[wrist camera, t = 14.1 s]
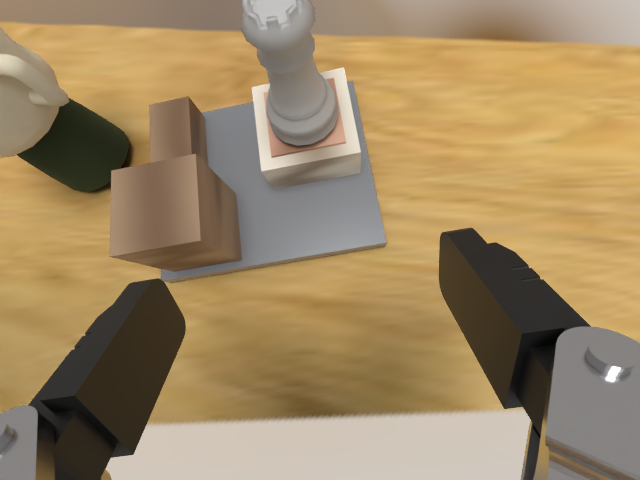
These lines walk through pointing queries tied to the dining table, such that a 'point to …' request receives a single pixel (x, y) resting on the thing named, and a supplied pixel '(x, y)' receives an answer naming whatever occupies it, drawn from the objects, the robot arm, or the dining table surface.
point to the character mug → (53, 124)
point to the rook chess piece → (290, 69)
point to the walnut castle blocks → (174, 198)
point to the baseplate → (286, 201)
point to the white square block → (313, 159)
